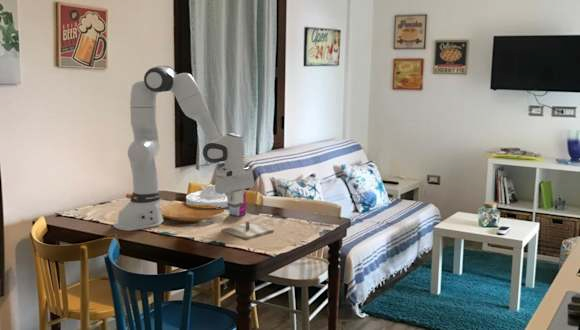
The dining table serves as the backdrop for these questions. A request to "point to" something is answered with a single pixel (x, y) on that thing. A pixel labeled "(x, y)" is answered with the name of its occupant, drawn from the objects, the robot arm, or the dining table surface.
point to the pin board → (247, 230)
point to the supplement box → (239, 208)
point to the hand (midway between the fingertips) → (235, 200)
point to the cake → (207, 197)
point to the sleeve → (236, 198)
